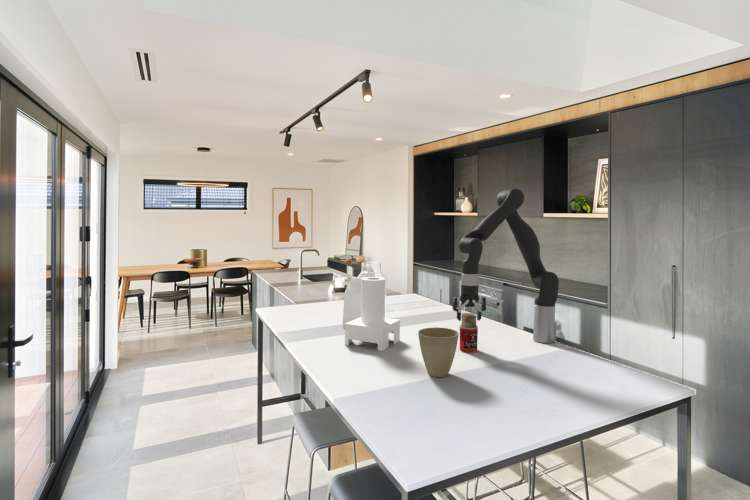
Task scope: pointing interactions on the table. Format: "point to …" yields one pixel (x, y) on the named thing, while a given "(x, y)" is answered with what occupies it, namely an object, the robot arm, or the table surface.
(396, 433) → the table surface
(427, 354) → the plant pot
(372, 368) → the table surface
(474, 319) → the walnut cube
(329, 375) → the table surface
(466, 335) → the canned food
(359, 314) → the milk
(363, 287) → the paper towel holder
